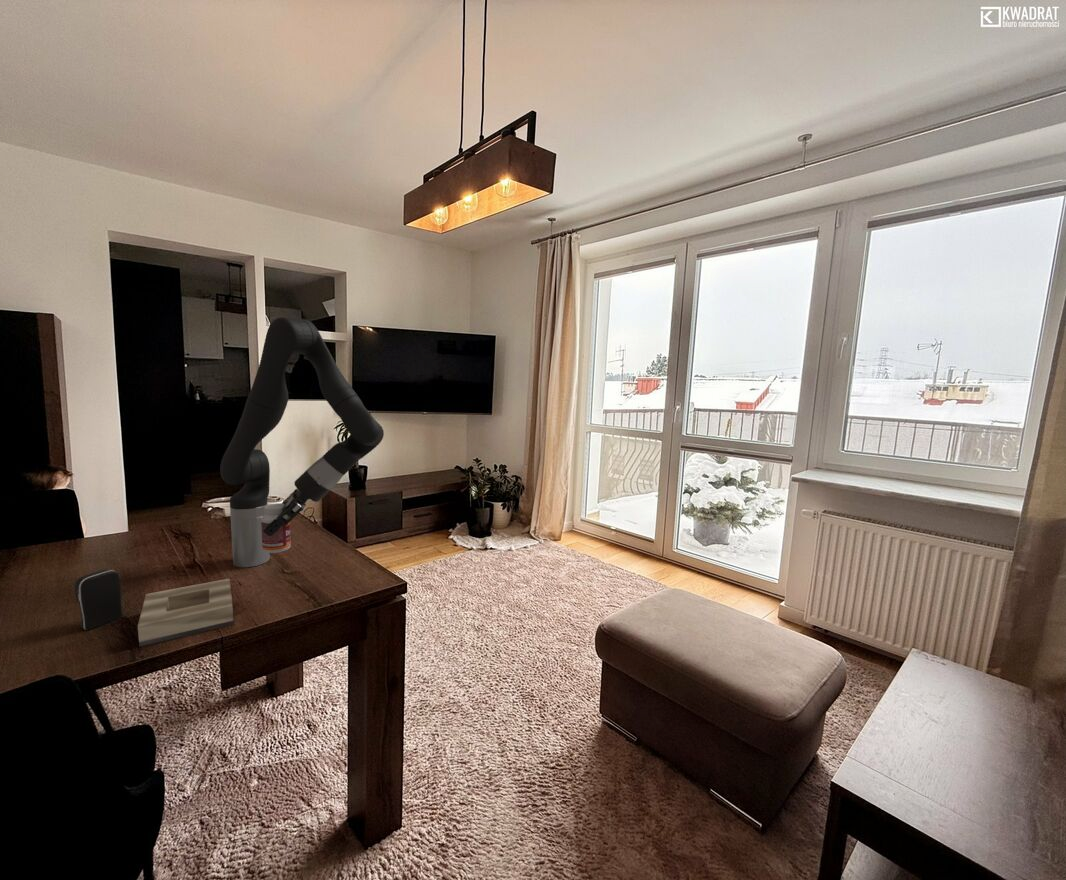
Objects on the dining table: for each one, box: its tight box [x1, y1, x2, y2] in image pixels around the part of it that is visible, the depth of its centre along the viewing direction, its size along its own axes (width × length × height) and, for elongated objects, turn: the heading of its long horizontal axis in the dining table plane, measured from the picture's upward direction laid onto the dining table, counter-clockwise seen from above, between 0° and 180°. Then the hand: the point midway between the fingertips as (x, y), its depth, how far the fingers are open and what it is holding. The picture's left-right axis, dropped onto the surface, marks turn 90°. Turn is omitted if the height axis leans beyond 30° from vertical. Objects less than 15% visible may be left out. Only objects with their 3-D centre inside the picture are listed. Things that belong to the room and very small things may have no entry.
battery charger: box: [74, 569, 124, 631], centre depth 100 cm, size 7×4×11 cm, turn 160°
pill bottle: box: [261, 502, 292, 554], centre depth 112 cm, size 6×6×11 cm
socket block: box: [137, 578, 234, 648], centre depth 103 cm, size 16×16×4 cm
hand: (267, 529), depth 112 cm, fingers closed on pill bottle, 6 cm apart
